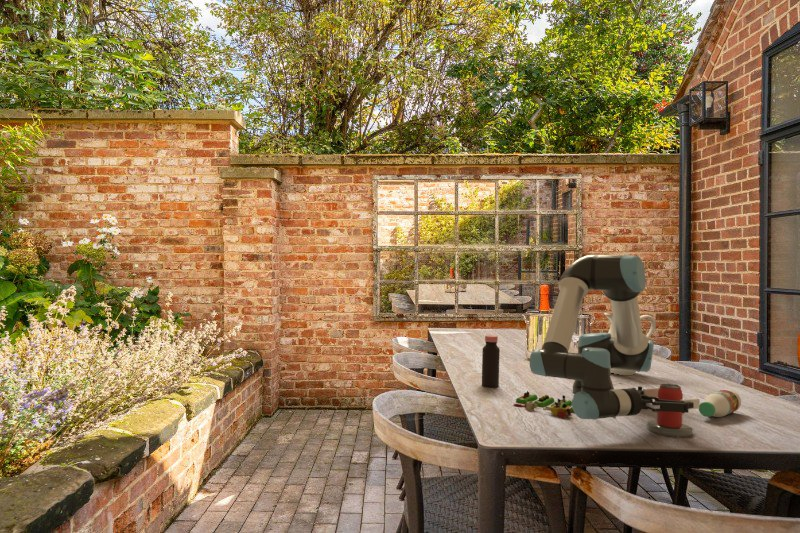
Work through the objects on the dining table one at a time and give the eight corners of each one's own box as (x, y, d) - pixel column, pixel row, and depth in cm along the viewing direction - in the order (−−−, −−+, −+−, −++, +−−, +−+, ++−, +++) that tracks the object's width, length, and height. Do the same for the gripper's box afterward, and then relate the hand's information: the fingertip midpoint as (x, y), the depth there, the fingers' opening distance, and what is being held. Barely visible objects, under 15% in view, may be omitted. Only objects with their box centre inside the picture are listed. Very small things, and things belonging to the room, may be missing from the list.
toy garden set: (590, 409, 184) (590, 396, 184) (571, 421, 168) (572, 406, 168) (527, 398, 197) (527, 385, 197) (504, 408, 182) (504, 395, 182)
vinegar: (498, 384, 218) (499, 335, 218) (499, 388, 211) (500, 337, 211) (481, 383, 218) (482, 334, 218) (482, 387, 212) (483, 336, 212)
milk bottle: (730, 416, 183) (706, 426, 171) (711, 398, 188) (687, 407, 175) (747, 402, 179) (724, 412, 167) (728, 384, 184) (704, 392, 171)
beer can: (660, 421, 163) (661, 382, 163) (684, 425, 159) (685, 385, 159) (654, 425, 158) (655, 385, 158) (679, 430, 154) (680, 389, 154)
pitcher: (609, 376, 240) (610, 314, 240) (596, 369, 257) (598, 311, 257) (663, 378, 239) (664, 315, 239) (647, 370, 256) (648, 312, 256)
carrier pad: (649, 434, 155) (649, 429, 155) (645, 423, 166) (645, 418, 166) (696, 439, 151) (696, 434, 151) (688, 427, 162) (688, 423, 162)
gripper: (592, 404, 164) (645, 400, 172) (657, 428, 141) (715, 421, 148) (592, 380, 164) (646, 376, 172) (658, 399, 141) (716, 394, 148)
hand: (678, 397), depth 160 cm, fingers open, 13 cm apart
